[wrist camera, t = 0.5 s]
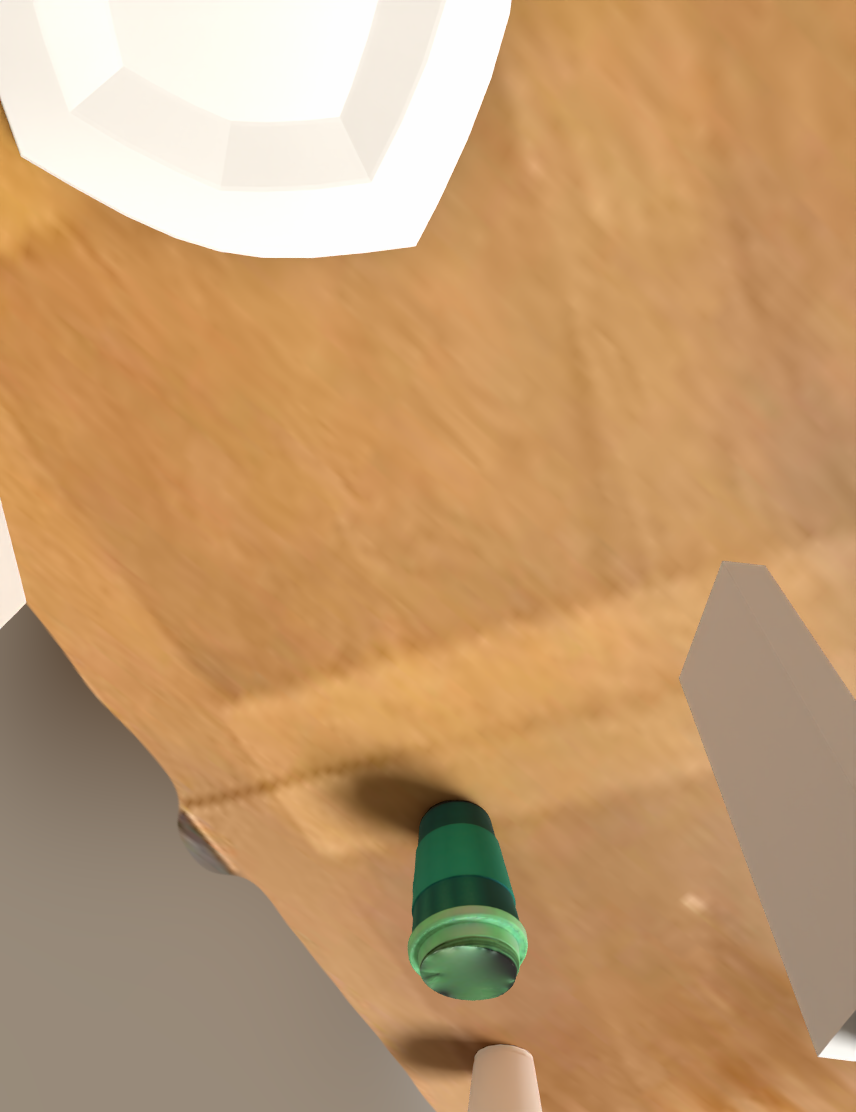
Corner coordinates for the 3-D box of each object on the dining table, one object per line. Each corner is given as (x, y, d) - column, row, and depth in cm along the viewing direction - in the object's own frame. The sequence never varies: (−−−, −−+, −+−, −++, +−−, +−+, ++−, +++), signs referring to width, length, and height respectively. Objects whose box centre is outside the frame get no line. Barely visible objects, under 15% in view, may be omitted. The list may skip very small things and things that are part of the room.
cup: (412, 787, 54) (396, 938, 44) (517, 784, 53) (526, 937, 43) (424, 854, 58) (412, 1007, 48) (522, 853, 57) (531, 1008, 47)
